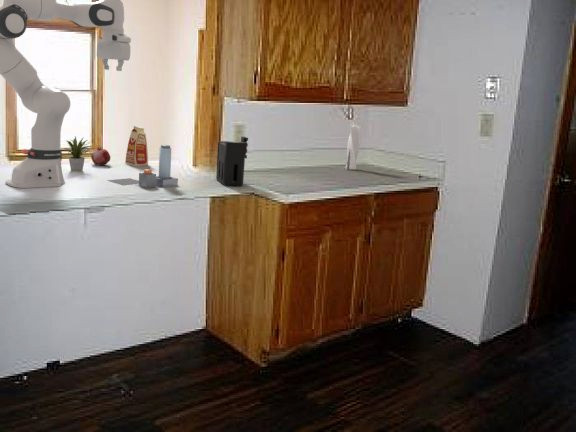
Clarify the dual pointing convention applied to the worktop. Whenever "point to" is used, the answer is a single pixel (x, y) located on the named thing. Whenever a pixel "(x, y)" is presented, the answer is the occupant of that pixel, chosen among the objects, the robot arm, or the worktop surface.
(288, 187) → the worktop surface
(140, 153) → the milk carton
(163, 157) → the block
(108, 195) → the worktop surface
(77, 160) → the house plant
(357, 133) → the skyscraper
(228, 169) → the black machined bracket
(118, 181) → the mat
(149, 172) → the plunger
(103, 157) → the fruit
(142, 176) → the filter head
